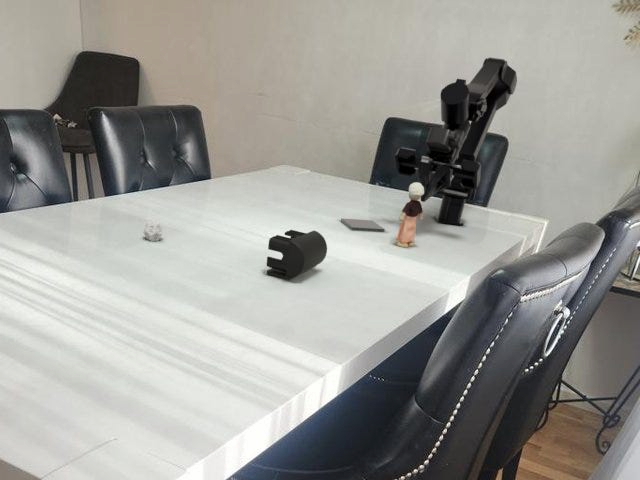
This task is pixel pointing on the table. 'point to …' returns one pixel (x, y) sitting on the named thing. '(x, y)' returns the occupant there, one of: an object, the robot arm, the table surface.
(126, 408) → the table surface
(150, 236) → the whitish grey rough lump
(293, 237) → the end cap
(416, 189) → the grandmother figurine
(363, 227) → the slate coaster
